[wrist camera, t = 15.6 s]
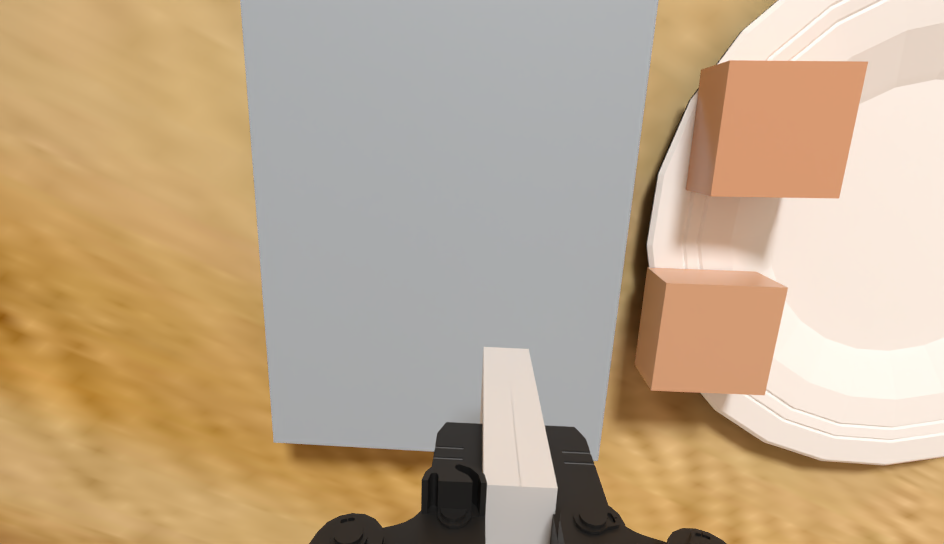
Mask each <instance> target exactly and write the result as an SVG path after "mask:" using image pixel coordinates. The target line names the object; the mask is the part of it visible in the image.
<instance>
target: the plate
mask: <svg viewBox="0 0 944 544" xmlns="http://www.w3.org/2000/svg"><path fill="white" fill-rule="evenodd" d="M730 60H747V61H862V62H868V65H867V70H866V74H865V79H864V84H863V89H862V93H861V98H860V103H859V107H858V112H857V117H856V122H855V126H854V131H853V136H852V140H851V145H850V150H849V154H848V159H847V164H846V169H845V173H844V178H843V183H842V187H841V192H840V197H839V199H837V198H775V197H713V196H707V195H703V194H699V193H695V192H691V191H687V190H686V185H687V177H688V169H689V161H690V153H691V145H692V138H693V130H694V122H695V114H696V106H697V99H698V91H699V88H698V89H697V91H696V92H695V93H694V95H693V96H692V97H691V99H690V100H689V102H688V104H687V107H686V109H685V111H684V113H683V116H682V118H681V120H680V123H679V125H678V127H677V130H676V132H675V134H674V136H673V139H672V141H671V143H670V146H669V148H668V150H667V152H666V155H665V157H664V159H663V162H662V164H661V166H660V169H659V171H658V173H657V179H656V185H655V191H654V197H653V203H652V210H651V216H650V222H649V228H648V234H647V240H646V250H647V259H648V268H675V269H703V270H730V271H756V272H758V273H760V274H762V275H764V276H766V277H768V278H770V279H772V280H774V281H776V282H778V283H780V284H782V285H784V286H786V287H788V290H787V295H786V300H785V304H784V309H783V313H782V318H781V323H780V327H779V332H778V337H777V341H776V346H775V350H774V355H773V360H772V364H771V369H770V374H769V378H768V383H767V387H766V392H765V395H744V394H721V393H701V394H702V395H703V397H704V398H705V399H706V400H707V401H708V403H709V404H710V405H711V406H712V407H713V408H714V410H715V411H717V412H718V413H720V414H721V415H723V416H724V417H726V418H728V419H729V420H731V421H732V422H734V423H735V424H737V425H738V426H740V427H741V428H743V429H744V430H746V431H747V432H749V433H750V434H752V435H753V436H755V437H756V438H758V439H760V440H761V441H763V442H765V443H768V444H771V445H774V446H777V447H780V448H783V449H786V450H789V451H792V452H795V453H798V454H802V455H805V456H808V457H811V458H814V459H817V460H820V461H831V462H844V463H858V464H871V465H891V464H898V463H905V462H912V461H919V460H926V459H933V458H940V457H944V0H778V1H776V2H775V3H774V4H773V5H772V6H771V7H769V8H768V9H767V10H766V11H765V12H763V13H762V14H761V15H760V16H759V17H758V18H756V19H755V20H754V21H753V22H752V23H750V24H749V25H748V26H747V27H746V28H745V29H743V30H742V31H741V32H740V33H739V35H738V36H737V37H736V39H735V40H734V41H733V43H732V44H731V45H730V47H729V48H728V49H727V51H726V52H725V53H724V55H723V56H722V57H721V59H720V60H719V61H718V63H717V64H720V63H723V62H726V61H730ZM717 64H716V65H717Z"/></svg>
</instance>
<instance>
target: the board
mask: <svg viewBox="0 0 944 544" xmlns="http://www.w3.org/2000/svg"><path fill="white" fill-rule="evenodd" d="M240 2H241V15H242V28H243V42H244V55H245V68H246V81H247V94H248V108H249V121H250V134H251V147H252V161H253V174H254V187H255V200H256V214H257V227H258V240H259V253H260V266H261V280H262V293H263V306H264V319H265V333H266V346H267V359H268V372H269V385H270V399H271V412H272V425H273V438H274V442H276V443H293V444H311V445H328V446H345V447H363V448H380V449H397V450H415V451H432V452H434V450H435V444H436V437H437V433H438V431H439V430H440V429H441V428H442V427H443V425H444V424H445V423H446V422H456V423H477V424H480V409H481V389H482V369H483V349H484V347H499V348H520V349H529V353H530V358H531V362H532V367H533V372H534V377H535V382H536V386H537V391H538V396H539V401H540V406H541V411H542V415H543V420H544V425H547V426H568V427H575V428H576V429H577V430H578V431H579V432H580V433H581V434H582V435H583V436H584V437H585V438H586V441H587V444H588V447H589V450H590V454H591V456H592V459H593V461H598V456H599V448H600V441H601V433H602V426H603V418H604V410H605V403H606V395H607V387H608V380H609V372H610V365H611V357H612V349H613V342H614V334H615V327H616V319H617V311H618V304H619V296H620V289H621V281H622V273H623V266H624V258H625V251H626V243H627V235H628V228H629V220H630V213H631V205H632V197H633V190H634V182H635V175H636V167H637V159H638V152H639V144H640V136H641V129H642V121H643V114H644V106H645V98H646V91H647V83H648V76H649V68H650V60H651V53H652V45H653V38H654V30H655V22H656V15H657V7H658V0H240Z"/></svg>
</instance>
